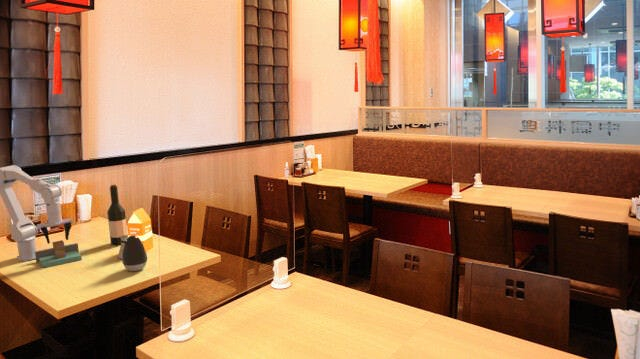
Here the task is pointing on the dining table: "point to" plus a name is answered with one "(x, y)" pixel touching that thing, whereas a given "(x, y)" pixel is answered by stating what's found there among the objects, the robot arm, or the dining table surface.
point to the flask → (122, 246)
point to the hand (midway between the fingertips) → (57, 241)
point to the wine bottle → (116, 218)
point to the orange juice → (141, 228)
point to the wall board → (48, 258)
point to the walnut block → (59, 249)
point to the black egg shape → (134, 254)
